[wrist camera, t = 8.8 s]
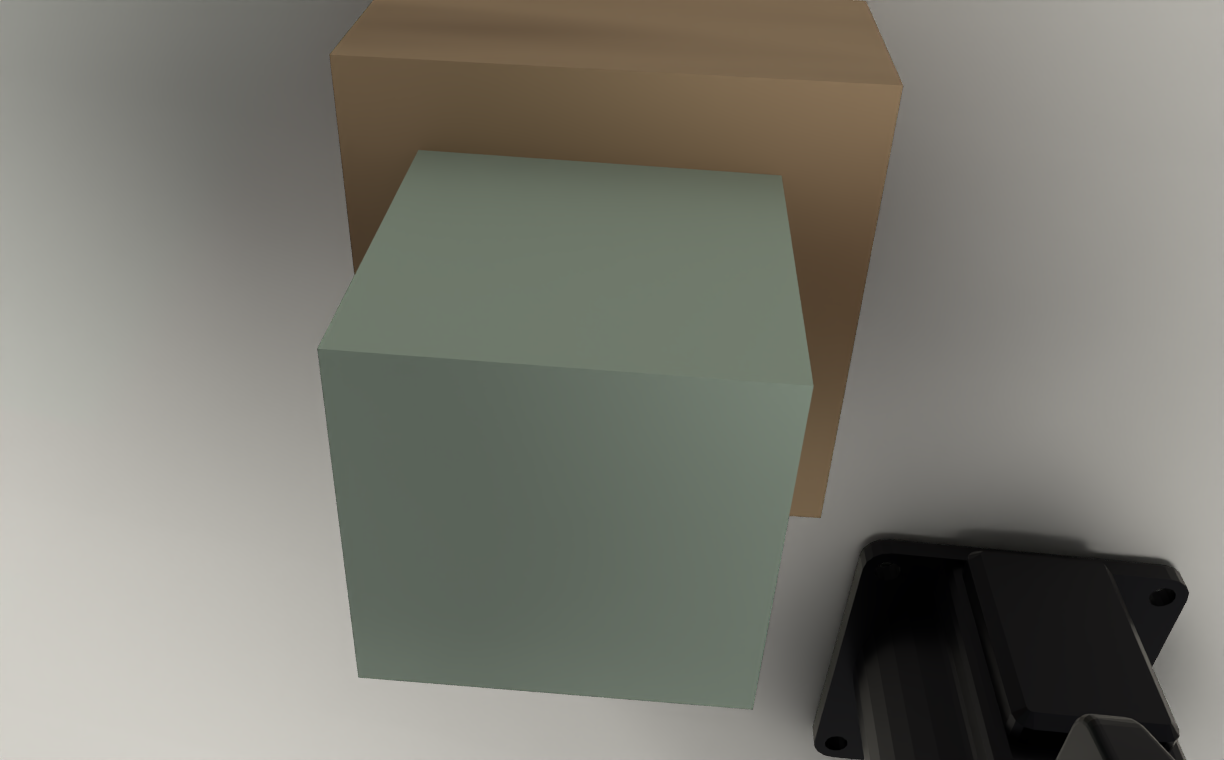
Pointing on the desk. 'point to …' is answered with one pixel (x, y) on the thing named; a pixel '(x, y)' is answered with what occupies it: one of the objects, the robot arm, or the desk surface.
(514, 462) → the sage block
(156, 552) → the desk surface
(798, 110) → the brown square block
